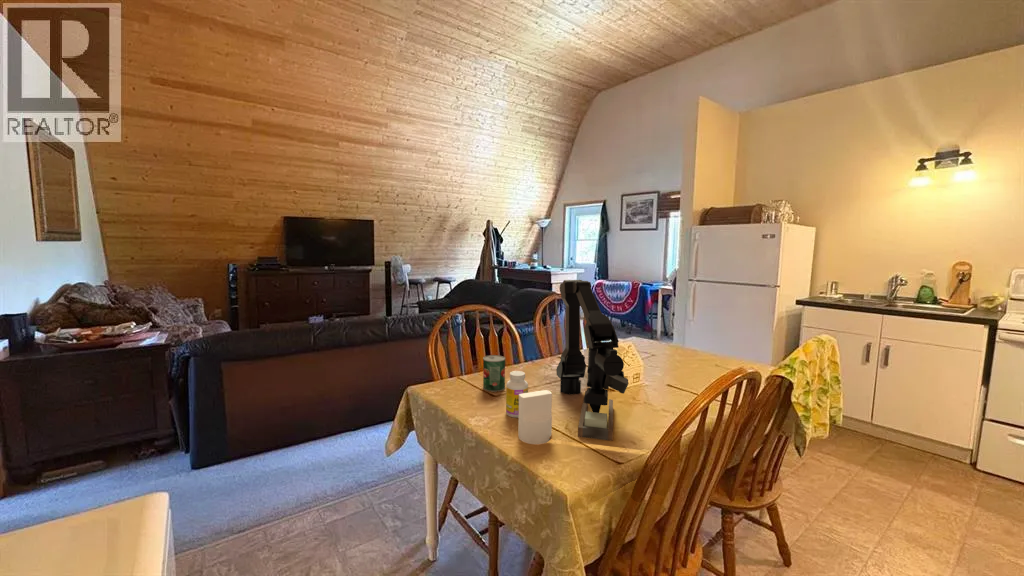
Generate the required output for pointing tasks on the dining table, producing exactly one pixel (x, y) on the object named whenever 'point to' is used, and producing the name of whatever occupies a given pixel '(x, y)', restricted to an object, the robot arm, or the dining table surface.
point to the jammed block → (596, 419)
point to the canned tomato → (494, 373)
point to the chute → (594, 431)
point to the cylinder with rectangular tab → (535, 417)
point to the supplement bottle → (515, 392)
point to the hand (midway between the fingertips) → (596, 416)
